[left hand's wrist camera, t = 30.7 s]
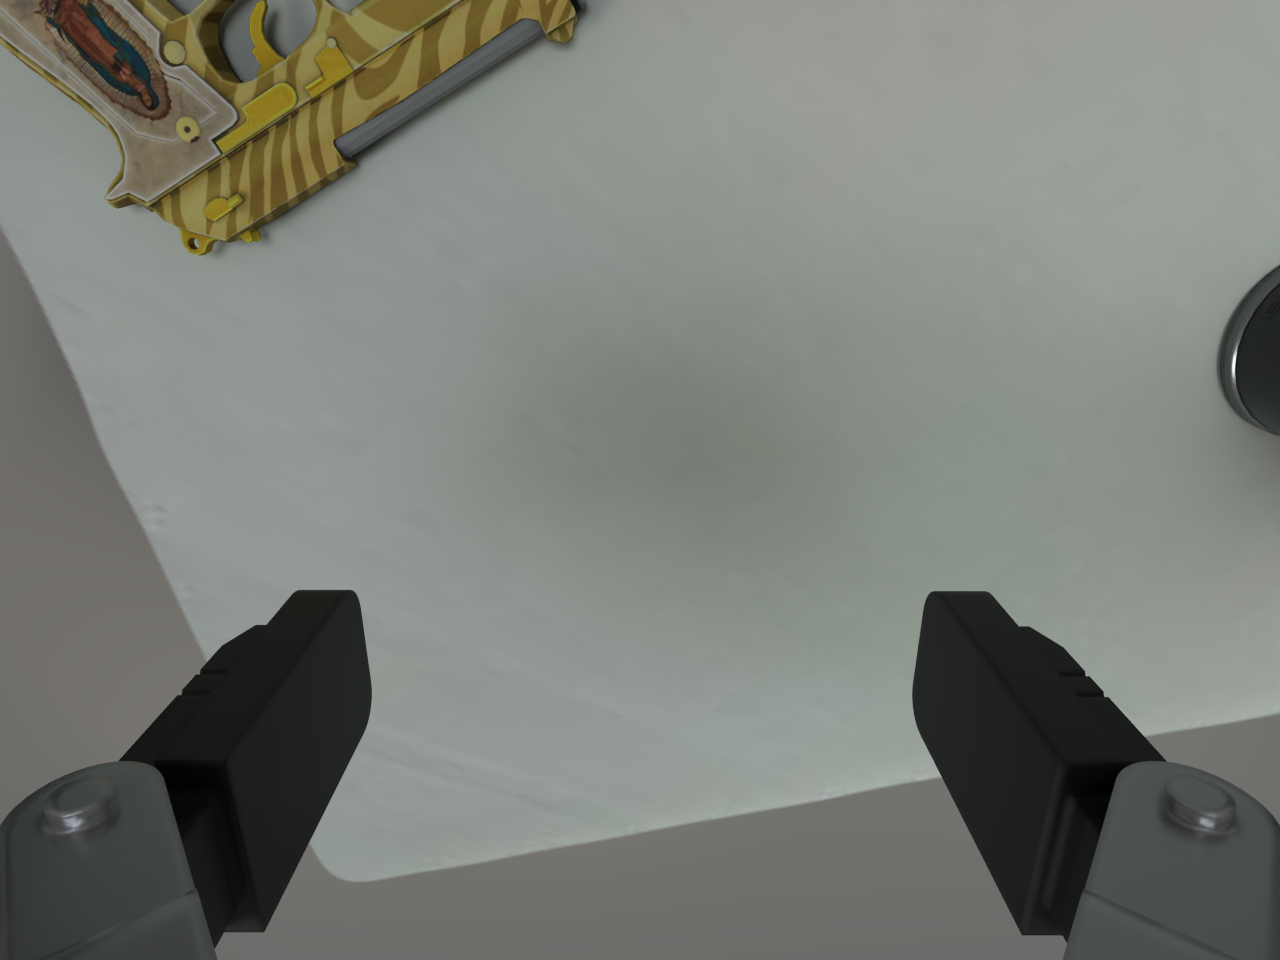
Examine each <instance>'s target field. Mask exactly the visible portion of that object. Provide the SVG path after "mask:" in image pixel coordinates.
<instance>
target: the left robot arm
mask: <svg viewBox="0 0 1280 960" xmlns="http://www.w3.org/2000/svg"><path fill="white" fill-rule="evenodd" d="M1220 373H1221V381H1222V385H1223V389H1224V392H1225V394H1226V397H1227V399H1228V401H1229V402H1230V404H1231V406H1232V407H1233V408H1234V410H1235V411H1236V412H1237V413H1238V414H1239V415H1240V416H1241V417H1242V418H1243V419H1244V420H1246V421H1247V422H1248V423H1250V424H1252V425H1253V426H1255V427H1257V428H1260V429H1262V430H1265V431H1267V432H1270V433H1272V434H1275V435H1278V436H1280V268H1278V269H1277V270H1275V271H1274V272H1273V273H1271V274H1270V275H1269V276H1268V277H1266V278H1265V279H1264V280H1263V281H1262V282H1261V283H1260V284H1259V285H1258V286H1257V287H1256V288H1255V289H1254V290H1253V291H1252V292H1251V293H1250V294H1249V296H1248V297H1247V298H1246V299H1245V301H1244V302H1243V303H1242V305H1241V306H1240V308H1239V309H1238V311H1237V312H1236V314H1235V316H1234V318H1233V320H1232V322H1231V324H1230V326H1229V328H1228V331H1227V333H1226V336H1225V339H1224V343H1223V347H1222V352H1221V361H1220ZM912 699H913V710H914V716H915V721H916V724H917V727H918V730H919V733H920V735H921V737H922V739H923V741H924V743H925V745H926V747H927V749H928V751H929V752H930V754H931V756H932V758H933V760H934V762H935V764H936V766H937V768H938V770H939V772H940V774H941V776H942V778H943V780H944V782H945V784H946V786H947V788H948V790H949V792H950V794H951V796H952V798H953V800H954V802H955V804H956V806H957V808H958V810H959V812H960V814H961V816H962V818H963V820H964V822H965V824H966V826H967V827H968V829H969V831H970V833H971V835H972V837H973V839H974V841H975V843H976V845H977V847H978V849H979V851H980V853H981V855H982V857H983V859H984V861H985V863H986V865H987V867H988V869H989V871H990V873H991V875H992V877H993V879H994V881H995V883H996V885H997V887H998V889H999V891H1000V893H1001V895H1002V897H1003V899H1004V901H1005V902H1006V905H1007V906H1008V908H1009V910H1010V912H1011V914H1012V916H1013V918H1014V920H1015V922H1016V924H1017V926H1018V928H1019V930H1020V932H1021V934H1022V935H1063V937H1064V939H1065V940H1066V942H1067V946H1066V950H1065V953H1064V957H1063V960H1280V825H1279V824H1278V822H1277V821H1276V819H1275V818H1274V817H1273V815H1272V814H1271V813H1270V812H1269V811H1268V810H1267V809H1266V808H1265V807H1264V806H1263V805H1262V804H1261V803H1259V802H1258V801H1257V800H1256V799H1255V798H1253V797H1252V796H1251V795H1249V794H1248V793H1246V792H1245V791H1243V790H1242V789H1240V788H1239V787H1237V786H1235V785H1233V784H1232V783H1230V782H1228V781H1226V780H1224V779H1222V778H1220V777H1218V776H1216V775H1213V774H1210V773H1208V772H1205V771H1203V770H1200V769H1197V768H1193V767H1190V766H1186V765H1182V764H1177V763H1171V762H1167V761H1166V760H1165V759H1164V758H1163V757H1162V756H1161V755H1160V754H1159V752H1158V751H1157V750H1156V749H1155V748H1154V747H1153V746H1152V745H1151V744H1150V743H1149V741H1148V740H1147V739H1146V738H1145V737H1144V736H1143V735H1142V734H1141V733H1140V731H1139V730H1138V729H1137V728H1136V727H1135V726H1134V725H1133V724H1132V723H1131V722H1130V720H1129V719H1128V718H1127V717H1126V716H1125V715H1124V714H1123V713H1122V712H1121V711H1120V709H1119V708H1118V707H1117V706H1116V705H1115V704H1114V703H1113V702H1112V701H1111V700H1110V698H1109V697H1104V692H1103V691H1102V690H1101V688H1100V687H1099V686H1098V685H1097V684H1096V683H1095V682H1094V681H1093V680H1092V679H1091V677H1090V676H1085V671H1084V670H1083V669H1082V668H1081V666H1080V665H1079V664H1078V663H1077V662H1076V661H1075V660H1074V659H1073V658H1072V657H1071V655H1070V654H1069V653H1068V652H1067V651H1066V650H1065V649H1064V648H1063V647H1062V646H1060V645H1059V644H1057V643H1055V642H1054V641H1052V640H1050V639H1049V638H1047V637H1045V636H1044V635H1042V634H1041V633H1039V632H1037V631H1036V630H1034V629H1032V628H1031V627H1019V626H1018V625H1017V624H1016V623H1015V622H1014V620H1013V619H1012V618H1011V617H1010V616H1009V615H1008V613H1007V612H1006V611H1005V610H1004V609H1003V607H1002V606H1001V605H1000V604H999V603H998V602H997V600H996V599H995V598H994V597H993V596H992V595H991V594H990V593H989V592H986V591H933V592H931V593H930V594H929V595H928V597H927V599H926V601H925V605H924V610H923V617H922V624H921V631H920V638H919V645H918V652H917V659H916V667H915V674H914V681H913V691H912ZM371 700H372V687H371V678H370V671H369V664H368V657H367V650H366V643H365V635H364V628H363V621H362V614H361V607H360V602H359V599H358V597H357V595H356V593H355V592H354V591H352V590H297V591H296V592H294V593H293V594H292V595H291V596H290V598H289V599H288V600H287V601H286V602H285V604H284V605H283V606H282V607H281V608H280V610H279V611H278V612H277V613H276V614H275V615H274V617H273V618H272V619H271V620H270V621H269V623H268V624H267V625H255V626H253V627H252V628H250V629H249V630H247V631H245V632H244V633H242V634H240V635H239V636H237V637H236V638H234V639H232V640H231V641H229V642H227V643H226V644H224V645H222V646H221V648H220V649H219V650H218V651H217V652H216V653H215V654H214V655H213V656H212V658H211V659H210V660H209V661H208V662H207V663H206V664H205V665H204V666H203V668H202V669H201V670H200V675H195V676H194V678H193V679H192V680H191V681H190V682H189V683H188V684H187V685H186V686H185V688H184V689H183V690H182V695H177V697H176V698H175V699H174V700H173V701H172V702H171V703H170V704H169V706H167V708H166V709H165V710H164V711H163V712H162V713H161V714H160V715H159V716H158V718H157V719H156V720H155V721H154V722H153V723H152V724H151V725H150V727H149V728H148V729H147V730H146V731H145V732H144V733H143V734H142V735H141V736H140V738H139V739H138V740H137V741H136V742H135V743H134V744H133V745H132V746H131V748H130V749H129V750H128V751H127V752H126V753H125V754H124V755H123V757H122V758H121V759H120V760H119V761H117V762H109V763H103V764H98V765H94V766H90V767H87V768H83V769H80V770H77V771H75V772H72V773H70V774H67V775H64V776H62V777H60V778H58V779H56V780H54V781H52V782H50V783H48V784H47V785H45V786H43V787H41V788H40V789H38V790H37V791H35V792H34V793H32V794H31V795H29V796H28V797H27V798H25V799H24V800H23V801H22V802H21V803H19V804H18V805H17V806H16V807H15V808H14V809H13V810H12V811H11V812H10V813H9V814H8V815H7V817H6V818H5V819H4V821H3V822H2V824H1V825H0V960H217V957H216V953H215V950H214V949H215V947H216V946H217V944H218V942H219V940H220V938H221V936H222V935H223V933H224V932H264V931H265V929H266V927H267V925H268V923H269V921H270V919H271V917H272V915H273V913H274V911H275V909H276V907H277V905H278V903H279V901H280V899H281V897H282V895H283V893H284V891H285V889H286V887H287V885H288V883H289V881H290V879H291V877H292V875H293V873H294V871H295V869H296V867H297V865H298V863H299V861H300V859H301V857H302V855H303V853H304V851H305V849H306V847H307V845H308V843H309V841H310V839H311V837H312V835H313V833H314V831H315V829H316V827H317V825H318V823H319V821H320V819H321V817H322V815H323V813H324V811H325V809H326V807H327V805H328V803H329V801H330V799H331V797H332V795H333V793H334V791H335V789H336V787H337V785H338V783H339V781H340V779H341V777H342V775H343V773H344V771H345V770H346V768H347V766H348V764H349V762H350V760H351V758H352V756H353V754H354V752H355V750H356V748H357V746H358V744H359V742H360V740H361V738H362V736H363V734H364V731H365V729H366V726H367V723H368V720H369V715H370V709H371Z"/></svg>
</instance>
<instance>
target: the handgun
mask: <svg viewBox="0 0 1280 960" xmlns="http://www.w3.org/2000/svg"><path fill="white" fill-rule="evenodd" d="M234 1H235V0H204V1H203V2H201V3H200V4H199V5H198V6H197V7H196V8H195V9H194V10H192V11H191V12H190V13H189V14H187V15H183V14H181V13H180V12H179V11H177V10H176V9H175V8H174V7H173V6H172V5H171V4H170V3H169V2H168V1H167V0H0V44H1V45H3V46H4V47H5V48H6V49H7V50H9V51H10V52H11V53H12V54H13V55H15V56H16V57H17V58H18V59H19V60H21V61H22V62H23V63H24V64H25V65H27V66H28V67H29V68H30V69H32V70H33V71H34V72H36V73H37V74H38V75H40V76H41V77H42V78H44V79H45V80H46V81H48V82H49V83H51V84H52V85H53V86H55V87H56V88H57V89H59V90H60V91H61V92H63V93H64V94H65V95H67V96H68V97H69V98H71V99H72V100H73V101H75V102H77V103H78V104H79V105H81V106H82V107H83V108H84V109H85V110H87V111H88V112H89V113H90V114H91V115H93V116H94V117H95V118H96V119H97V120H98V121H99V122H101V123H102V124H103V125H104V126H105V127H106V128H107V129H108V130H109V131H110V132H111V133H112V135H113V136H114V137H115V139H116V142H117V144H118V147H119V150H120V153H121V155H122V166H121V169H120V171H119V173H118V175H117V176H116V178H115V179H114V180H113V182H112V184H111V186H110V187H109V189H108V191H107V194H106V196H105V200H106V202H108V203H109V204H110V205H111V206H113V207H115V208H117V209H118V208H122V207H125V206H129V205H133V204H136V203H139V204H141V205H142V206H144V207H145V208H147V209H148V210H150V211H151V212H152V211H155V212H156V213H157V214H158V215H159V216H160V217H161V218H162V219H163V220H164V221H166V222H168V223H170V224H172V225H174V226H177V227H179V230H180V233H181V239H182V242H183V245H184V247H185V248H186V249H187V250H188V252H189V253H191V254H195V255H206V254H207V253H209V252H210V251H211V250H212V247H213V244H214V243H215V241H217V240H222V241H226V242H229V243H230V242H233V241H237V240H240V239H243V240H244V241H245V242H248V243H250V242H252V241H255V242H258V241H260V240H261V235H260V233H259V231H258V229H259V228H260V227H262V226H263V225H265V224H267V223H268V222H270V221H271V220H273V219H274V218H276V217H278V216H279V215H281V214H282V213H284V212H285V211H287V210H289V209H290V208H292V207H293V206H295V205H296V204H298V203H300V202H301V201H303V200H304V199H306V198H307V197H309V196H310V195H312V194H314V193H315V192H317V191H318V190H320V189H321V188H323V187H325V186H326V185H328V184H329V183H331V182H332V181H334V180H336V179H337V178H339V177H340V176H342V175H343V174H345V173H347V172H348V171H350V170H351V169H353V168H354V167H356V162H355V160H354V159H353V157H352V156H353V155H354V154H356V153H357V152H359V151H361V150H362V149H364V148H365V147H367V146H368V145H370V144H371V143H373V142H375V141H376V140H378V139H379V138H381V137H382V136H384V135H386V134H387V133H389V132H390V131H392V130H393V129H395V128H397V127H398V126H400V125H401V124H403V123H404V122H406V121H407V120H409V119H411V118H412V117H414V116H415V115H417V114H418V113H420V112H422V111H423V110H425V109H426V108H428V107H429V106H431V105H432V104H434V103H436V102H437V101H439V100H440V99H442V98H443V97H445V96H447V95H448V94H450V93H451V92H453V91H454V90H456V89H458V88H459V87H461V86H462V85H464V84H465V83H467V82H468V81H470V80H472V79H473V78H475V77H476V76H478V75H479V74H481V73H483V72H484V71H486V70H487V69H489V68H490V67H492V66H493V65H495V64H497V63H498V62H500V61H501V60H503V59H504V58H506V57H508V56H509V55H511V54H512V53H514V52H515V51H517V50H518V49H520V48H522V47H523V46H525V45H526V44H528V43H529V42H531V41H533V40H534V39H536V38H537V37H539V36H540V35H542V34H544V33H545V35H546V37H547V39H548V40H549V41H551V40H554V41H557V42H561V43H567V42H568V41H570V40H571V39H572V38H573V32H574V26H575V25H576V24H577V22H578V19H577V16H576V12H578V11H579V10H581V9H583V8H584V7H586V6H587V4H588V3H587V0H364V1H363V2H361V3H360V4H358V5H357V6H355V7H354V8H353V9H351V12H344V11H342V10H340V9H338V8H336V7H335V6H334V5H333V4H332V3H331V2H330V1H329V0H313V2H314V4H315V6H316V11H317V18H316V23H315V26H314V28H313V30H312V33H311V35H310V36H309V37H308V38H307V39H306V40H305V41H304V42H303V43H302V44H301V45H300V46H298V47H297V48H296V49H295V50H294V51H293V52H292V53H291V54H290V55H289V56H288V57H287V58H286V59H285V58H283V57H282V56H280V55H279V54H278V53H277V52H276V51H275V50H274V49H273V48H272V46H271V45H270V44H269V42H268V41H267V38H266V36H265V33H264V20H265V16H266V13H267V9H268V5H267V2H266V0H261V1H260V2H258V3H257V4H256V6H255V8H254V10H253V12H252V14H251V16H250V24H249V30H250V34H251V38H252V41H253V43H254V45H255V47H254V48H253V49H252V50H251V51H252V53H253V54H254V56H255V58H256V59H257V60H258V62H259V63H260V65H261V68H260V70H259V72H258V74H257V77H256V78H255V79H252V80H249V81H246V82H243V83H241V82H240V81H239V80H238V79H237V78H236V76H235V75H234V74H233V72H232V71H231V70H230V68H229V66H228V64H227V62H226V60H225V58H224V56H223V53H222V51H221V48H220V46H219V43H218V24H219V23H220V21H221V19H222V17H223V15H224V13H225V11H226V10H227V9H228V8H229V7H230V5H231V4H232V3H233V2H234ZM195 238H196V239H197V240H198V241H199V248H197V247H196V246H195V244H194V240H195Z"/></svg>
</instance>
